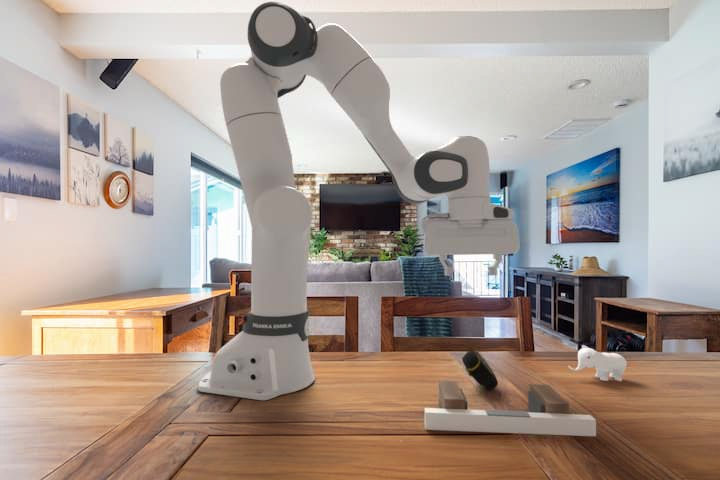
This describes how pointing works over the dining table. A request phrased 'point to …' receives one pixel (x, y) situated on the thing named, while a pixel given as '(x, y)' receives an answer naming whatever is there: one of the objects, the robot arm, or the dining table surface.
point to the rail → (508, 414)
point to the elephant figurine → (601, 363)
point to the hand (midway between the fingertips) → (470, 275)
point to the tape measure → (479, 369)
